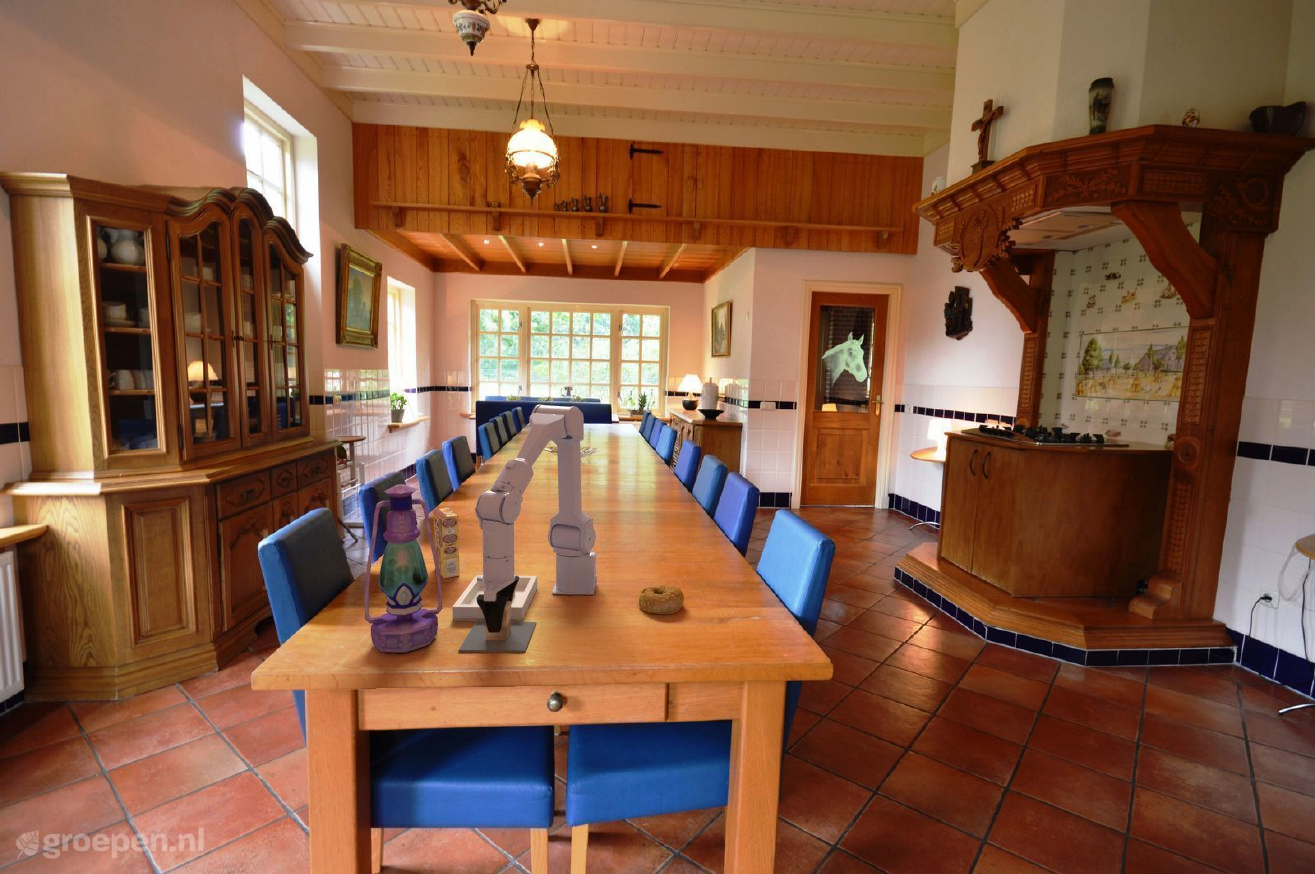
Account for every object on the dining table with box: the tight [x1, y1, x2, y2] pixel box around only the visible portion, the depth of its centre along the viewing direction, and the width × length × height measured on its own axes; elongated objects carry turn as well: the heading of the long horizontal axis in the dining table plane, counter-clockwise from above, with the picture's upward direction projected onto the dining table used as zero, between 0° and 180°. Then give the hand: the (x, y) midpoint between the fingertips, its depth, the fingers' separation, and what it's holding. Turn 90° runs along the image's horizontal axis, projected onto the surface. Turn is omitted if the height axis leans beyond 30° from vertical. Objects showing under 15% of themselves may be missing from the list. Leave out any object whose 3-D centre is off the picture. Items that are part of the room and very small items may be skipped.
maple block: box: [484, 601, 512, 640], centre depth 114 cm, size 4×4×6 cm
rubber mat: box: [457, 621, 537, 654], centre depth 114 cm, size 12×12×1 cm
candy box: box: [432, 507, 461, 579], centre depth 147 cm, size 9×4×15 cm, turn 33°
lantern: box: [363, 483, 443, 653], centre depth 110 cm, size 13×12×30 cm
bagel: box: [638, 585, 685, 615], centre depth 130 cm, size 10×11×5 cm
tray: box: [452, 574, 538, 622], centre depth 130 cm, size 14×18×3 cm
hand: (499, 622), depth 114 cm, fingers open, 7 cm apart
